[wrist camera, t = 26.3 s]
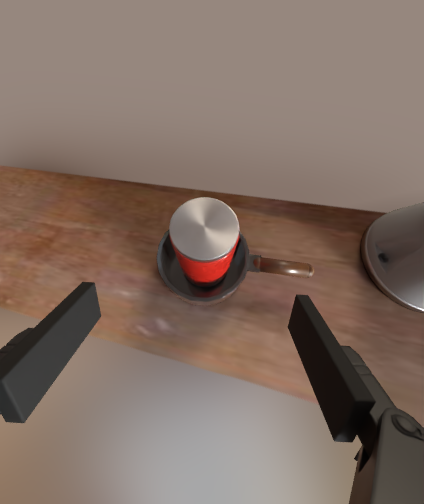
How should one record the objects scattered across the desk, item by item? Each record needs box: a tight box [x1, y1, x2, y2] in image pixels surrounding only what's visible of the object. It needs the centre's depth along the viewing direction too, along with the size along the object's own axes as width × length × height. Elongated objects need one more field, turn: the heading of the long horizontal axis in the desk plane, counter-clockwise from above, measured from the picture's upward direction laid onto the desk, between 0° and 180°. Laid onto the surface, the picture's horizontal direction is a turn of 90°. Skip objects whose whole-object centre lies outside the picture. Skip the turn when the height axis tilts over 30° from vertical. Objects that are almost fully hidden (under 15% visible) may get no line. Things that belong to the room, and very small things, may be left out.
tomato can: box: [169, 197, 239, 287], centre depth 25 cm, size 7×7×12 cm
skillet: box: [157, 230, 249, 306], centre depth 29 cm, size 11×11×4 cm
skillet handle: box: [247, 254, 314, 278], centre depth 27 cm, size 8×2×2 cm, turn 82°
